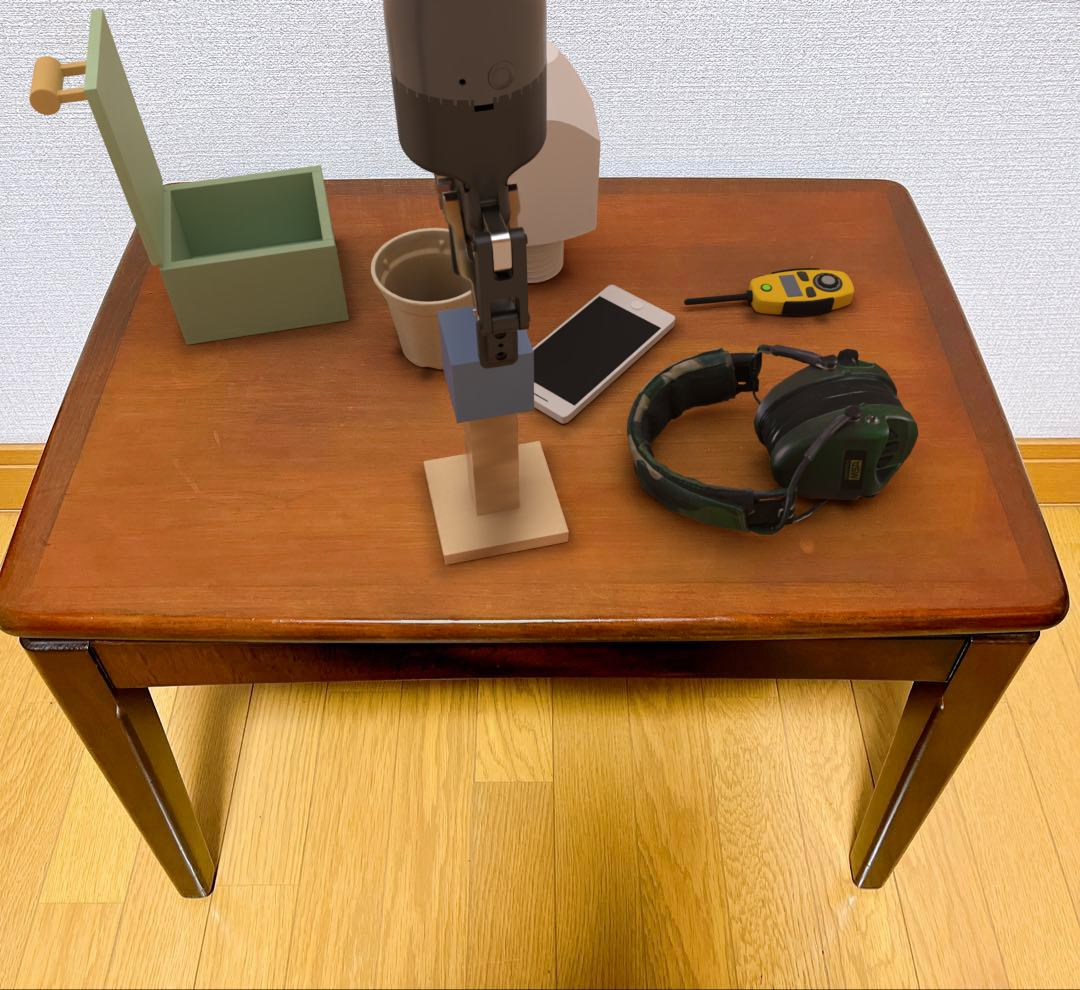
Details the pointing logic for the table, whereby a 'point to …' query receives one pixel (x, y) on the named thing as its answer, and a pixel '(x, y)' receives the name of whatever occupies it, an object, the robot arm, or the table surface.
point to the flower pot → (420, 290)
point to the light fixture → (560, 172)
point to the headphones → (778, 434)
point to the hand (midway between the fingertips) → (483, 314)
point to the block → (482, 371)
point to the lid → (110, 124)
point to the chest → (251, 255)
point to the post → (494, 494)
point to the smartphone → (594, 350)
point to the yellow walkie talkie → (793, 292)
